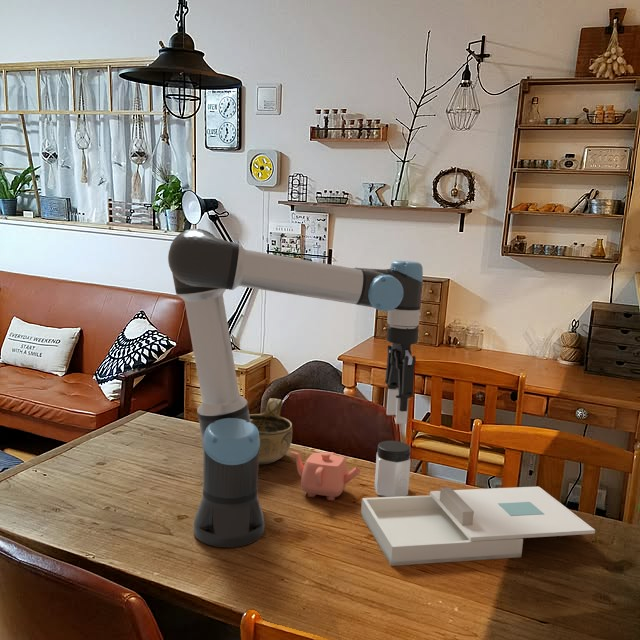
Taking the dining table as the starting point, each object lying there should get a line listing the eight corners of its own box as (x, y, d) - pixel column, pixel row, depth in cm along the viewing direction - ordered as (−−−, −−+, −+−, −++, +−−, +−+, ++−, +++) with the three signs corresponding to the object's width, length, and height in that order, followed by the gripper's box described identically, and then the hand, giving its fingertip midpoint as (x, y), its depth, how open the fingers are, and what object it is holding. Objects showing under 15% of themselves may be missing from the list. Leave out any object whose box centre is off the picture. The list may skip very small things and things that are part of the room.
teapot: (340, 480, 166) (342, 442, 164) (360, 499, 155) (363, 459, 154) (288, 486, 160) (289, 448, 159) (306, 507, 150) (307, 465, 148)
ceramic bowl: (249, 443, 189) (251, 393, 187) (303, 452, 184) (306, 401, 182) (213, 469, 168) (214, 414, 166) (273, 481, 163) (275, 424, 161)
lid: (470, 541, 129) (472, 523, 128) (429, 494, 150) (431, 478, 149) (594, 533, 134) (596, 516, 134) (538, 489, 156) (540, 474, 155)
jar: (387, 501, 155) (390, 454, 153) (367, 488, 161) (370, 443, 159) (415, 494, 160) (418, 448, 158) (394, 482, 166) (397, 438, 164)
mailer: (391, 565, 126) (392, 546, 125) (360, 514, 147) (362, 498, 146) (521, 557, 132) (523, 538, 131) (474, 509, 153) (475, 493, 152)
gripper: (432, 333, 145) (425, 431, 149) (404, 319, 164) (398, 407, 167) (401, 333, 144) (394, 432, 147) (376, 319, 162) (370, 407, 166)
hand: (396, 418), depth 157 cm, fingers open, 6 cm apart
